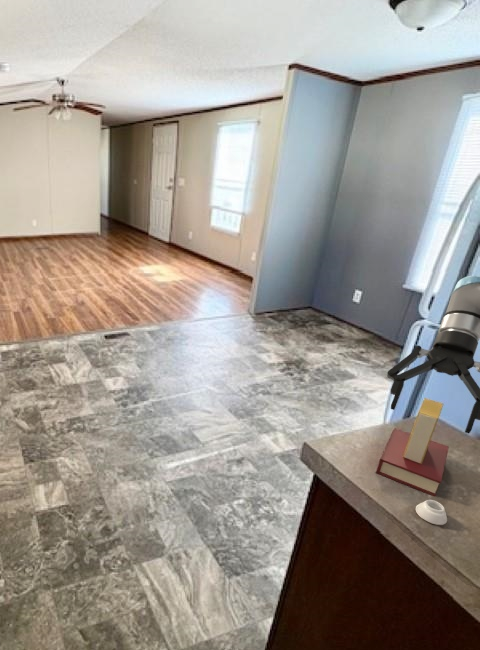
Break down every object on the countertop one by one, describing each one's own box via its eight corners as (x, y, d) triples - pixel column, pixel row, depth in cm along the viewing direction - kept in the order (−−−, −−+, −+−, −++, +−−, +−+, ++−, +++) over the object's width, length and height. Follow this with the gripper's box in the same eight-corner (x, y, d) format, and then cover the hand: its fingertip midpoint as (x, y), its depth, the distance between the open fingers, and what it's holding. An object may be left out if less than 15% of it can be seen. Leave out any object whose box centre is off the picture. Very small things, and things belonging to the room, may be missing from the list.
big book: (389, 440, 107) (393, 427, 106) (443, 460, 100) (449, 446, 99) (375, 472, 96) (380, 458, 95) (435, 496, 90) (441, 481, 88)
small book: (427, 447, 98) (443, 403, 94) (421, 464, 93) (438, 418, 88) (409, 441, 101) (424, 397, 96) (402, 457, 95) (418, 412, 91)
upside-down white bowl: (435, 529, 82) (451, 521, 83) (440, 518, 80) (456, 510, 82) (409, 511, 86) (424, 503, 88) (413, 500, 85) (429, 493, 86)
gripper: (526, 359, 93) (499, 447, 89) (393, 331, 109) (365, 404, 104) (537, 345, 87) (508, 437, 83) (395, 317, 103) (364, 393, 99)
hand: (428, 419), depth 94 cm, fingers open, 13 cm apart
